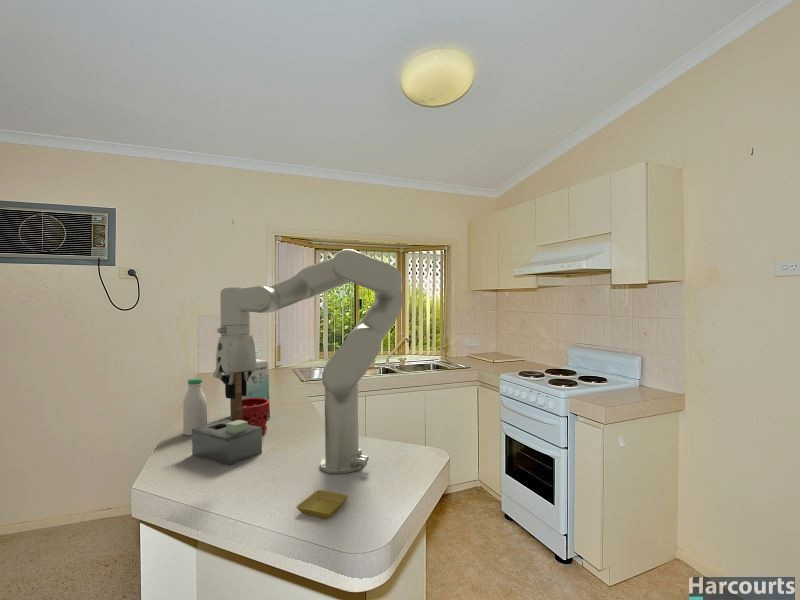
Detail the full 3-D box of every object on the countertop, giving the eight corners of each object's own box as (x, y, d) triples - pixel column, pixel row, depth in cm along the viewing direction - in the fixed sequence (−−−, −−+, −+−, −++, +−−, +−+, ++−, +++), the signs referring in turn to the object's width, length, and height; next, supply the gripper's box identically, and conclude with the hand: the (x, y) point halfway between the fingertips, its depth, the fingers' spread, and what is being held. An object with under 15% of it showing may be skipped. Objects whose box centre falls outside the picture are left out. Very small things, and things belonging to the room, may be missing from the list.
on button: (247, 437, 122) (247, 421, 122) (235, 442, 118) (235, 425, 118) (238, 435, 124) (238, 419, 124) (226, 439, 120) (226, 423, 120)
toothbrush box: (230, 415, 169) (229, 359, 170) (254, 411, 176) (253, 357, 177) (245, 424, 156) (244, 363, 156) (270, 418, 163) (269, 360, 163)
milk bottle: (205, 434, 143) (205, 379, 144) (181, 437, 140) (181, 381, 141) (207, 428, 150) (207, 376, 151) (184, 431, 148) (184, 378, 148)
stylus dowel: (244, 416, 110) (243, 366, 110) (235, 418, 108) (234, 367, 108) (237, 414, 112) (237, 365, 112) (228, 417, 109) (227, 367, 109)
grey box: (261, 452, 124) (261, 427, 124) (227, 466, 114) (227, 438, 114) (226, 443, 133) (226, 419, 133) (192, 454, 123) (192, 429, 123)
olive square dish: (328, 523, 83) (328, 513, 83) (295, 516, 86) (295, 506, 86) (349, 504, 91) (349, 495, 91) (318, 498, 94) (318, 489, 94)
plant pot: (223, 439, 138) (222, 405, 138) (246, 428, 151) (246, 396, 151) (256, 441, 135) (255, 406, 135) (276, 429, 147) (276, 397, 148)
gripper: (216, 333, 101) (217, 404, 101) (267, 329, 115) (268, 392, 115) (199, 333, 105) (200, 401, 105) (251, 329, 119) (252, 390, 119)
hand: (236, 396), depth 110 cm, fingers closed on stylus dowel, 3 cm apart
